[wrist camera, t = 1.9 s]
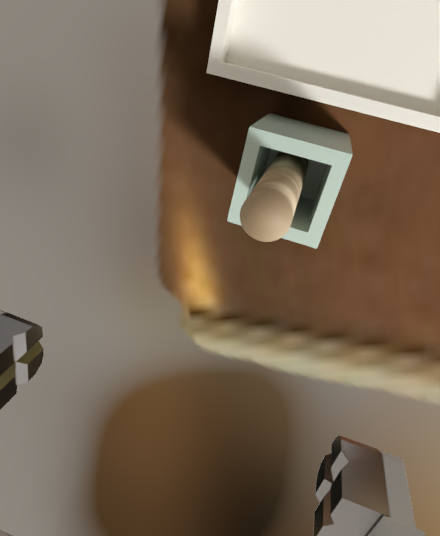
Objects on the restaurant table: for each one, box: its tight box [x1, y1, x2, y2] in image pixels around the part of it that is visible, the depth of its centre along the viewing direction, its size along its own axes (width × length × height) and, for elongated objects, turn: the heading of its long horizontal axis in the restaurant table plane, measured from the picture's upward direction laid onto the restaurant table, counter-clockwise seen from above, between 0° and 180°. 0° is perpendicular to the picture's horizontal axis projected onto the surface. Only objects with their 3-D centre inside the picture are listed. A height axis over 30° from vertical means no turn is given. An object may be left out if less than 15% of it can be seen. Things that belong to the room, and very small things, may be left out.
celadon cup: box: [227, 113, 353, 249], centre depth 31 cm, size 7×7×9 cm
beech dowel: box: [240, 151, 309, 242], centre depth 28 cm, size 3×3×14 cm
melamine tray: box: [206, 0, 440, 133], centre depth 28 cm, size 20×13×2 cm, turn 79°
